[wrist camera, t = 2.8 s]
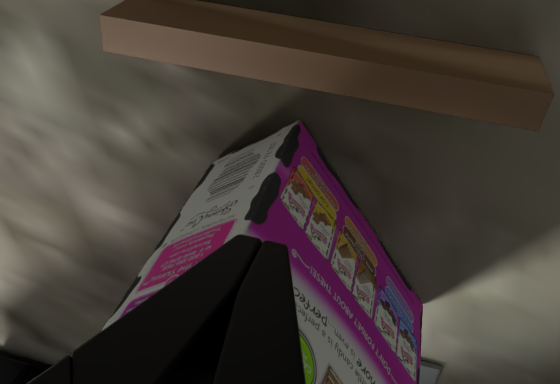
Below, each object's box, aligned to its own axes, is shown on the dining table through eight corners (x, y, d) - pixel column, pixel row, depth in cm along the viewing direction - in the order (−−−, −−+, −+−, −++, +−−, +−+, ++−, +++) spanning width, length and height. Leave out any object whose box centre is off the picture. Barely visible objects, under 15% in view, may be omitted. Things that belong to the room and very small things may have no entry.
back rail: (525, 90, 18) (538, 131, 16) (143, 23, 20) (103, 50, 18) (538, 56, 17) (554, 94, 15) (141, -9, 19) (99, 14, 17)
